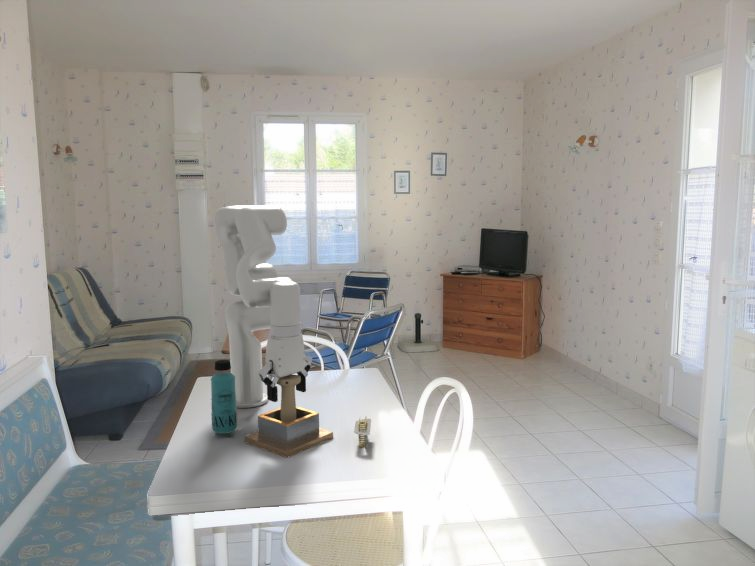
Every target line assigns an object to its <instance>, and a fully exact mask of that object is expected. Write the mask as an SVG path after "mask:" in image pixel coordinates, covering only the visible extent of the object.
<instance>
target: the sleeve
mask: <svg viewBox="0 0 755 566" xmlns="http://www.w3.org/2000/svg"><path fill="white" fill-rule="evenodd" d="M319 413H320V412H316V411H314V410H310V409H307V408H303V407H300V406H297V405H296V420H294V421H291V422H289V423H286V422H283V421H281V407H278V408H276V409H273V410H269V411H266V412H264V413H261V414H258V415H257V430H256V431H253V432H252V433H248V434H246V435H244V441H243V442H244V443H247V444H249V445H252V446H255V447H257V448H261V449H263V450H266V451H268V452H271V453H274V454H277V455H279V456H281V457H284V458H289V457H291V456H294V455H296V454H299V453H302V452H303V451H305V450H308V449H311V448H312V447H315V446H317V445H319V444H321V443H324V442H326V441H329V440H331V439H333V438H334V431H332V430H328V429H324V428H321V427H320V414H319Z"/></svg>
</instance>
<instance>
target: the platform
mask: <svg viewBox="0 0 755 566" xmlns="http://www.w3.org/2000/svg"><path fill="white" fill-rule="evenodd" d="M371 426H372V419H371V418H368V417H367V416H366V415H365V418H362V419H361V416H359V419H358V420H356V421H355V424H354V429H353V430H354V431H353V432H354V434H357V435H358V447H359V448H360V447H364V449H365V450H367V444H368V436H369V435H370V434H371V429H372V428H371Z"/></svg>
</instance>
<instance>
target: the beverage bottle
mask: <svg viewBox="0 0 755 566" xmlns="http://www.w3.org/2000/svg"><path fill="white" fill-rule="evenodd" d="M214 370H215V371H217V372H216V373H214V374H213V375H212V376H211V377H210V385H211V386H210V387H211V388H210V391H211V394H210V395H211V398H210V400H211V404H210V406H211V415H210V416H211V428H212V431H213V433H216V434H229V433H232V432H234V431H236V429H237V425H238V417H237V407H236V405H237V404H236V391H235V376H234V375H233V374H232V373H231V371H229V370H231V364H230V360H229V359H219V360H216V361H214Z"/></svg>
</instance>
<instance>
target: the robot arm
mask: <svg viewBox="0 0 755 566" xmlns="http://www.w3.org/2000/svg"><path fill="white" fill-rule="evenodd" d="M287 227H288V220H287V216H286V214H285V212H284V211H283V209H282V207H280V206H277V205H228V206H223V207H220V208H217V209H216V211H215V212H214V215H213V229H214V232H215V236H216V239H217V241H218V243H219V245H220V248H221V251H222V255H223V265H224V272H225V273H224V274H225V281H226V283H225V284H226V288H227V291H228V292H229V294H230V295H232V296H236V297H241V299H240V300H237V301H233V302H231V303H229V304H228V305H227V306H226V308H225V310H224V317H225V324H226V327H227V334H228V342H229V343H228V344H229V359H230V360H229V361H230V364H231V369H230V373H232V374H233V375H234V376H235V391H236V404H237V405H236V409H239V408H240V409H241V408H242V409H245V408H247V409H249V408H255V407H260V406H262V405H265V404H266V403H268V402H269V401H270V402H274V403H277V402H278V401H279V400H278V398H279V396H278V392H279V391H278V386H276V385H277V381H278V379H279V378H281V377H285V376H288V375H299V376H301V381H300V383H299V384H297V385H295V391H298V392H301V393H306V392H307V382H306V381H307V379H306V378H307V377H308V376H309V374H308V372H309V371H310V370H311V365H312V362H313V357H312V356H309V355H306V353H305V352H306V350H305V342H304V339H303V334H302V328H303V324H302V322H301V288H300V285H299V283H298V282H295V281H293V279H292V278H290V277H287V276H279V275H280V274H279V273H278V270H277V268H276V267H275V265H273V264H269V263H265V262H267V261H269V260H271V258H273V256H274V254H275V253H276V250H277V249H276V248H277V247H276V243H275V241H274V239H273V236H281V235H283V234H284V233H285V232H286V230H287ZM264 330H270V336H268V338H267V342H266V348H265V350H266V351H265V361H264V362H265V363H264V364H265V365H263V355H262V354H263V353H262V344H261V341H260V340H259V339H258V338H257V337H256V336H255V334H254V333H253V332H257V331H264ZM264 385H265V386H266V393H265V392H264Z"/></svg>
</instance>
